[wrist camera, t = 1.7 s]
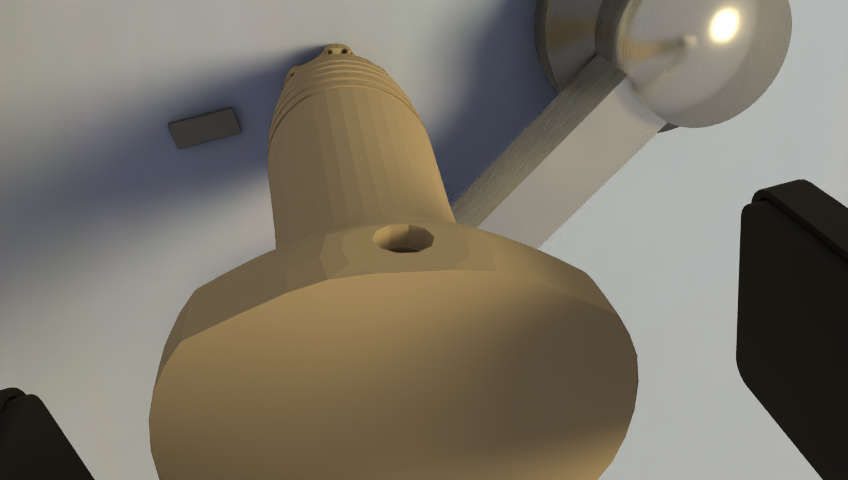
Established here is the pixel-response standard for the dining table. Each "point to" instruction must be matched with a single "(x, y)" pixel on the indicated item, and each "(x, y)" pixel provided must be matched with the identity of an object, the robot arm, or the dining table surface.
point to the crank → (629, 105)
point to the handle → (386, 322)
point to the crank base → (556, 45)
